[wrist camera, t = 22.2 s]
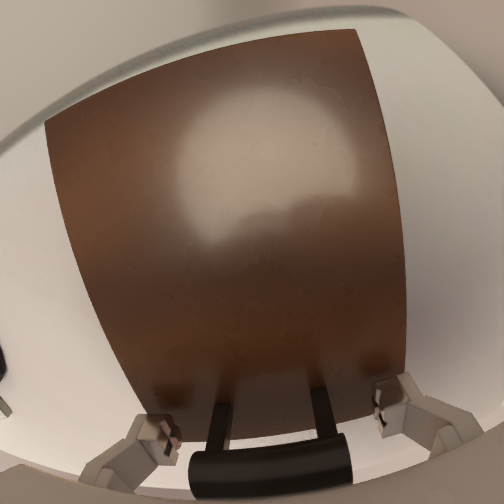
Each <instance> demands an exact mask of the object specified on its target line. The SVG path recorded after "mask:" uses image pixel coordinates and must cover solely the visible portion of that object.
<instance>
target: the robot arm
mask: <svg viewBox="0 0 504 504" xmlns="http://www.w3.org/2000/svg"><path fill="white" fill-rule="evenodd" d="M371 391H372V394H373V396H372V397H371V406H372V412H373V415H374V418H375V419H376V420H378V428H379V431H380V434H381V436H382V438H386V437H389V436H392V435H396V434H399V433H402V432H403V434H404V435H406V436H407V437H409V438H411V439H412V440H414V441H415V442H417V443H418V444H420V445H421V446H423V447H424V448H426V449H428V450H429V451H431V453H430V456H429V459H428V460H427V461H424V462H422V463H419V464H417V465H414V466H411V467H408V468H406V469H403V470H400V471H397V472H394V473H391V474H388V475H385V476H382V477H379V478H375V479H371V480H368V481H365V482H360V483H357V484H353V485H348V486H344V487H340V488H335V489H330V490H325V491H320V492H315V493H309V494H302V495H295V496H288V497H279V498H269V499H256V500H235V501H204V500H183V499H169V498H160V497H151V496H143V495H137V494H136V493H135V492H134V490H135V489H136V488H137V486H139V485H140V484H141V483H142V482H143V481H144V480H145V479H146V478H147V477H148V476H149V475H150V474H151V473H152V472H153V471H154V470H155V469H156V468H157V467H158V465H164V466H176V462H177V459H178V455H179V454H178V452H177V451H176V450H178V449H179V448H180V447H181V444H182V434H181V431H180V429H179V427H178V426H176V425H175V424H173V423H174V419H173V417H172V416H171V415H169V414H138V415H137V416H136V417H135V420H134V422H133V424H132V426H131V428H130V430H129V432H128V434H127V436H126V439H122V440H120V441H119V442H118V443H116V444H115V445H113V446H112V447H110V448H109V449H107V450H106V451H105V452H103V453H102V454H100V455H99V456H97V457H96V458H94V459H93V460H91V461H90V462H88V463H87V464H86V466H85V468H84V470H83V472H82V474H81V476H80V478H79V480H78V481H73V480H69V479H66V478H63V477H60V476H57V475H54V474H51V473H47V472H45V471H42V470H39V469H36V468H34V467H32V466H29V465H26V464H19V465H16V466H14V467H12V468H9V469H7V470H6V471H3V472H1V473H0V504H504V422H502V423H500V424H498V425H497V426H495V427H494V428H492V429H490V430H488V431H486V432H485V433H484V431H483V430H482V428H481V427H480V425H479V424H478V422H477V421H476V419H475V418H474V416H473V415H472V413H470V412H467V411H464V410H462V409H459V408H457V407H454V406H452V405H449V404H446V403H444V402H441V401H439V400H437V399H434V398H432V397H429V396H427V395H426V396H423V395H422V394H421V392H420V390H419V389H418V387H417V385H416V384H415V382H414V381H413V379H412V377H411V376H410V374H409V373H408V372H404V373H402V374H399V375H396V376H393V377H390V378H387V379H383V380H380V381H377V382H373V383H372V384H371Z"/></svg>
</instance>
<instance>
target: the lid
mask: <svg viewBox="0 0 504 504" xmlns="http://www.w3.org/2000/svg"><path fill="white" fill-rule="evenodd" d="M44 125H45V133H46V139H47V146H48V152H49V158H50V163H51V168H52V173H53V178H54V183H55V187H56V192H57V196H58V200H59V204H60V208H61V212H62V216H63V219H64V223H65V227H66V230H67V233H68V237H69V240H70V243H71V247H72V250H73V253H74V256H75V259H76V262H77V265H78V268H79V271H80V273H81V276H82V279H83V282H84V284H85V287H86V290H87V292H88V295H89V297H90V300H91V302H92V305H93V307H94V310H95V312H96V314H97V317H98V319H99V321H100V324H101V326H102V328H103V331H104V333H105V335H106V337H107V339H108V341H109V344H110V346H111V348H112V350H113V352H114V354H115V356H116V358H117V360H118V362H119V364H120V366H121V368H122V370H123V372H124V374H125V375H126V377H127V379H128V381H129V383H130V385H131V387H132V388H133V390H134V392H135V394H136V395H137V397H138V399H139V401H140V402H141V404H142V406H143V408H144V409H145V411H146V412H147V414H169V415H171V416H172V417H173V419H174V423H173V424H175V425H176V426H178V427H179V429H180V431H181V434H182V442H207V443H206V448H205V451H197V452H195V453H193V455H192V456H191V459H190V462H189V468H188V479H189V485H190V489H191V492H192V494H193V496H194V497H195V498H196V499H197V500H204V501H235V500H256V499H269V498H279V497H288V496H295V495H302V494H309V493H315V492H320V491H325V490H330V489H335V488H340V487H344V486H348V485H353V473H352V464H351V458H350V453H349V448H348V444H347V441H346V437H345V435H344V434H343V433H339V434H338V432H337V428H336V424H338V423H342V422H346V421H350V420H354V419H358V418H362V417H365V416H369V415H372V414H373V412H372V406H371V397H372V396H373V394H372V391H371V384H372V383H373V382H377V381H380V380H383V379H387V378H390V377H393V376H396V375H399V374H402V373H404V371H405V355H406V317H407V312H406V273H405V257H404V244H403V233H402V223H401V214H400V206H399V199H398V192H397V185H396V179H395V173H394V167H393V162H392V156H391V151H390V146H389V142H388V137H387V132H386V128H385V124H384V120H383V115H382V111H381V108H380V104H379V100H378V96H377V93H376V89H375V86H374V82H373V79H372V76H371V72H370V69H369V66H368V63H367V60H366V57H365V54H364V51H363V48H362V45H361V42H360V40H359V37H358V34H357V32H356V30H355V29H340V30H325V31H314V32H304V33H296V34H289V35H282V36H275V37H269V38H264V39H258V40H253V41H248V42H243V43H239V44H234V45H230V46H226V47H222V48H218V49H214V50H210V51H207V52H203V53H200V54H196V55H193V56H190V57H186V58H183V59H180V60H177V61H174V62H171V63H168V64H165V65H162V66H159V67H157V68H154V69H151V70H149V71H146V72H144V73H141V74H138V75H136V76H134V77H131V78H129V79H126V80H124V81H122V82H119V83H117V84H115V85H113V86H110V87H108V88H106V89H104V90H102V91H100V92H98V93H96V94H94V95H92V96H90V97H88V98H86V99H84V100H82V101H80V102H78V103H76V104H74V105H72V106H71V107H69V108H67V109H65V110H63V111H62V112H60V113H58V114H56V115H55V116H53V117H51V118H50V119H48V120H46V121H45V122H44ZM315 428H316V431H317V437H318V438H316V439H311V440H305V441H299V442H294V443H287V444H280V445H273V446H265V447H256V448H246V449H234V450H229V444H230V440H238V439H248V438H258V437H266V436H273V435H280V434H287V433H293V432H299V431H304V430H310V429H315Z"/></svg>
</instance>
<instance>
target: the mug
mask: <svg viewBox="0 0 504 504" xmlns="http://www.w3.org/2000/svg"><path fill="white" fill-rule="evenodd" d="M5 371H6V369H5V365H4V361H3V358H2V354H1V350H0V381H1V380H2V377H3V375H4V373H5Z"/></svg>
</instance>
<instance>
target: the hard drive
mask: <svg viewBox="0 0 504 504" xmlns="http://www.w3.org/2000/svg"><path fill="white" fill-rule="evenodd" d="M11 414H12V412H11V410H10V408H9V407H8V406H7V405H6V403H5V402H4V401H3V400H2V398H1V397H0V419H4V418H8V417H9V416H10V415H11Z"/></svg>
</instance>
